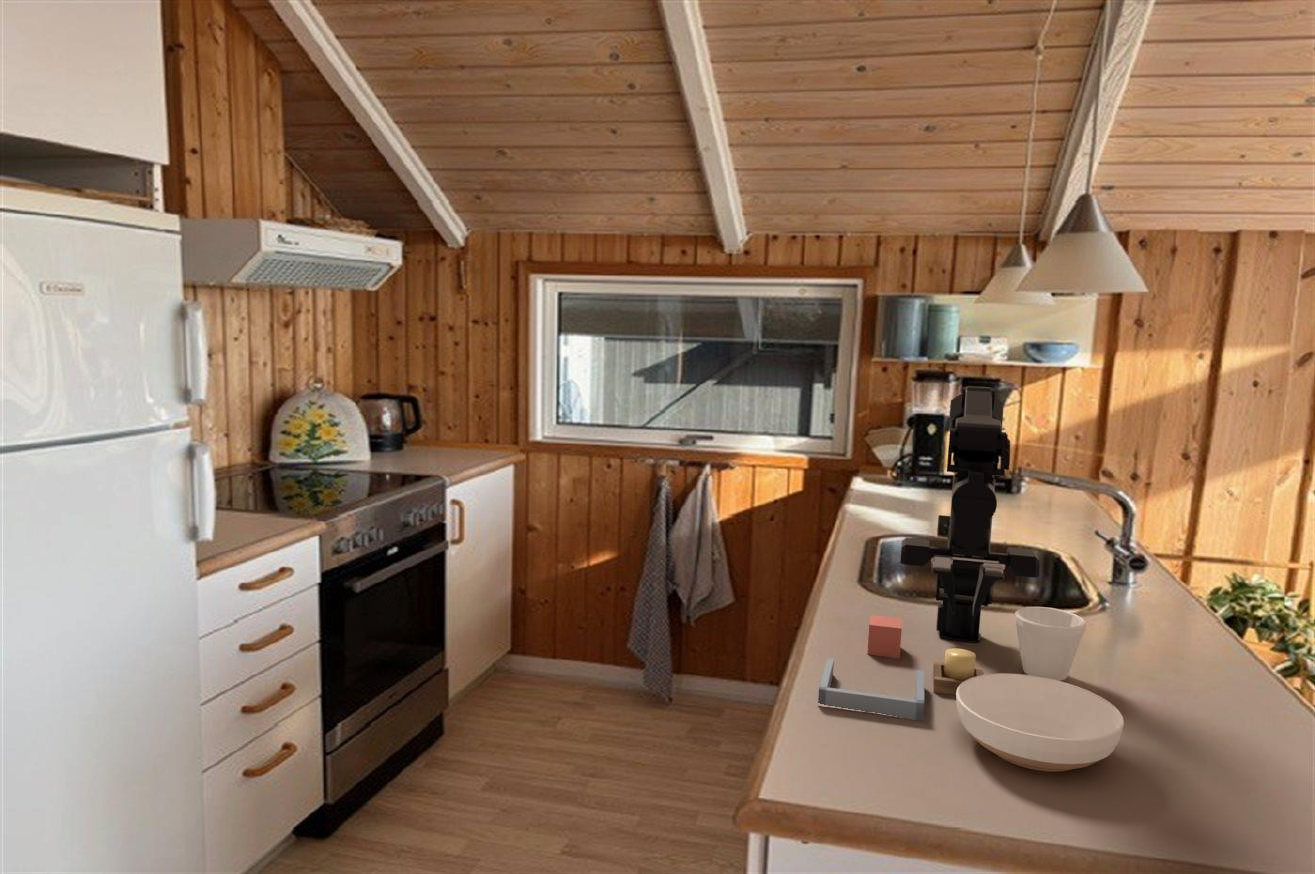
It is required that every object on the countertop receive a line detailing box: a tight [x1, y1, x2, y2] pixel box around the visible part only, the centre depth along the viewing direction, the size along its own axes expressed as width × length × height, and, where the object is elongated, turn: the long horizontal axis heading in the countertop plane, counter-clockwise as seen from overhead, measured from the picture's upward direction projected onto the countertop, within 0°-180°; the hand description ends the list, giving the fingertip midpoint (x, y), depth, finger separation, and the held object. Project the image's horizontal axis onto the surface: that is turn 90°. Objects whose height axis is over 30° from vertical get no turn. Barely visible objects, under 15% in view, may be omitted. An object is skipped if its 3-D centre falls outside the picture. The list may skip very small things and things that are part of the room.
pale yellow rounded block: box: [944, 647, 976, 680], centre depth 135 cm, size 4×4×3 cm
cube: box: [867, 614, 903, 659], centre depth 149 cm, size 5×5×5 cm
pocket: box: [817, 657, 925, 722], centre depth 131 cm, size 14×12×2 cm
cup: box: [1014, 606, 1087, 682], centre depth 140 cm, size 10×10×9 cm
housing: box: [932, 661, 985, 696], centre depth 136 cm, size 7×7×2 cm
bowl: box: [955, 672, 1125, 773], centre depth 116 cm, size 20×20×6 cm
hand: (963, 614), depth 134 cm, fingers open, 3 cm apart
